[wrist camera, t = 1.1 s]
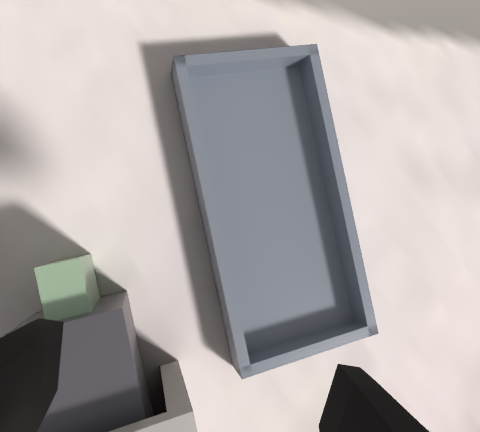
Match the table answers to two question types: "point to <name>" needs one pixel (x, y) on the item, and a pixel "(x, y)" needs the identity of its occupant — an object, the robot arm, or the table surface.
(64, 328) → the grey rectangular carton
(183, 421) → the sleeve
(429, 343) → the table surface
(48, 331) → the robot arm
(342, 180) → the tray
